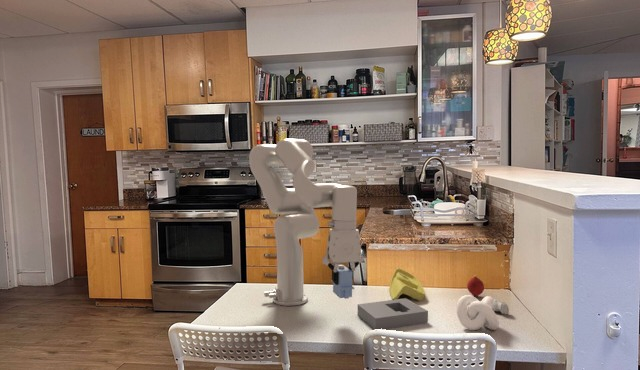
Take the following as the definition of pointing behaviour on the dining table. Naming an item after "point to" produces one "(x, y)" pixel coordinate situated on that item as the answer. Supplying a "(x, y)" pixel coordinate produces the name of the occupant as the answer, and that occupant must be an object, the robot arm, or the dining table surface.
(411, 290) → the plastic component
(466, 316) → the white knot
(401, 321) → the grey flat block
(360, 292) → the dining table surface
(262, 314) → the dining table surface
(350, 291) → the block
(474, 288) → the onion
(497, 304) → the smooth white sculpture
